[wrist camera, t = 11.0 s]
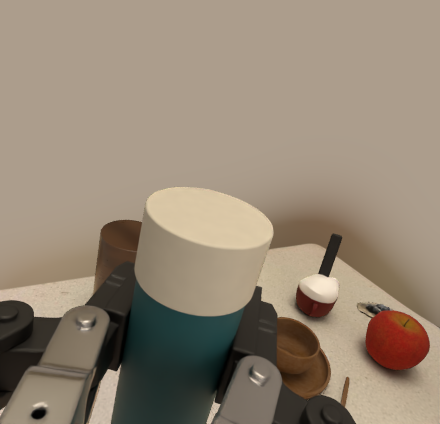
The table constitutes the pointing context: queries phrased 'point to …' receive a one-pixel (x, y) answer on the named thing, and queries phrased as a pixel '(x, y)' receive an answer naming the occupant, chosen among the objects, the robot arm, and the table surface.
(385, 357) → the apple
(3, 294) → the table surface
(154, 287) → the glue stick
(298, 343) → the place setting
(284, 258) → the table surface
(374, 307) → the geode slice
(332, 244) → the cocoa
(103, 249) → the brown cylinder
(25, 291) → the table surface
